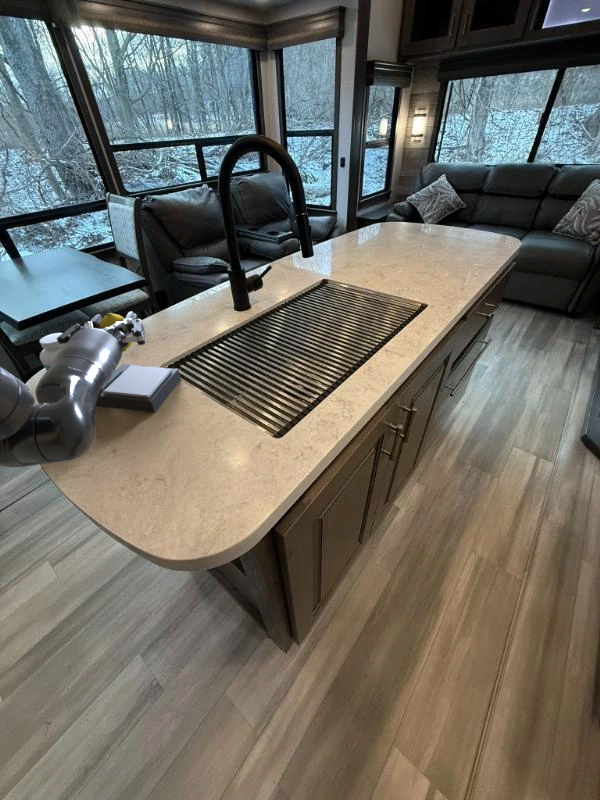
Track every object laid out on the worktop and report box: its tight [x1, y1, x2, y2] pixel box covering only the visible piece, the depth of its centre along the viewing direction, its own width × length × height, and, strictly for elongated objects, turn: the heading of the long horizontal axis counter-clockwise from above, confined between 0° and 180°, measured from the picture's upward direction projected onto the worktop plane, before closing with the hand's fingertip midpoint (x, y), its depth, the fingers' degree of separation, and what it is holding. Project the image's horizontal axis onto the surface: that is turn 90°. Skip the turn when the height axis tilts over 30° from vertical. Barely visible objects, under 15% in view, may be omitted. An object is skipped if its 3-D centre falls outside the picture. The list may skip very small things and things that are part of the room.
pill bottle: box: [39, 332, 64, 371], centre depth 70 cm, size 8×7×14 cm
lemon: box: [100, 312, 134, 353], centre depth 64 cm, size 6×6×8 cm
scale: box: [96, 363, 182, 413], centre depth 73 cm, size 14×12×4 cm
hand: (116, 318), depth 65 cm, fingers closed on lemon, 5 cm apart
